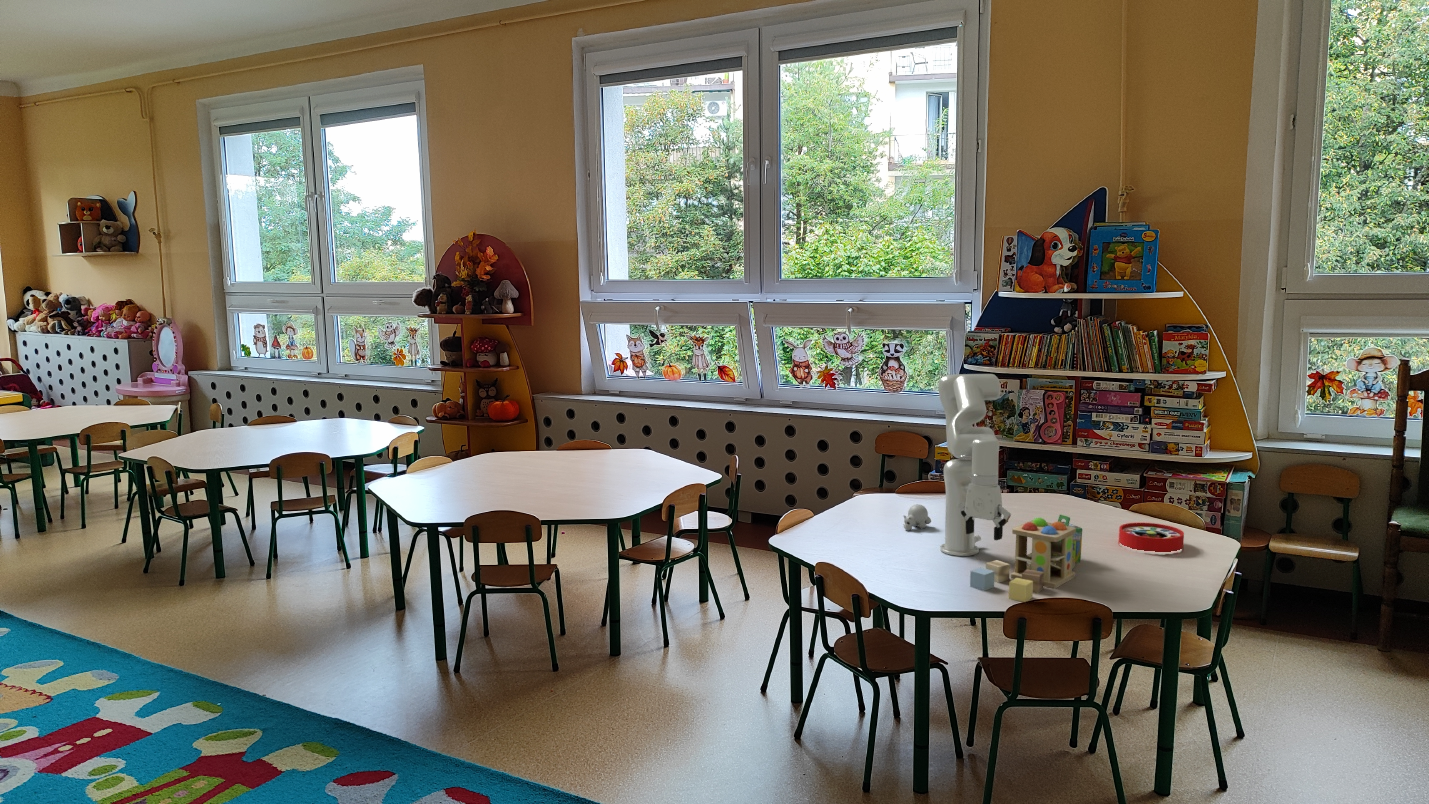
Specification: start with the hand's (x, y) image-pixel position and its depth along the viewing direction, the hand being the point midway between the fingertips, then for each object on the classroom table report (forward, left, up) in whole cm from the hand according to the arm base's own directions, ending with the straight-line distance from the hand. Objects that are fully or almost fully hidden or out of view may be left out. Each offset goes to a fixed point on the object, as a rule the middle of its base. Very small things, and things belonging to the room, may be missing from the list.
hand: (983, 536), depth 277 cm
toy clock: (-77, +14, -16) cm, 80 cm away
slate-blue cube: (0, 0, -16) cm, 16 cm away
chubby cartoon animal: (-37, -54, -16) cm, 68 cm away
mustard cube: (0, +13, -16) cm, 20 cm away
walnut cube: (-10, +11, -16) cm, 21 cm away
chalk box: (-41, +2, -16) cm, 44 cm away
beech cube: (-10, -1, -16) cm, 19 cm away
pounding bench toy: (-25, +7, -16) cm, 31 cm away
